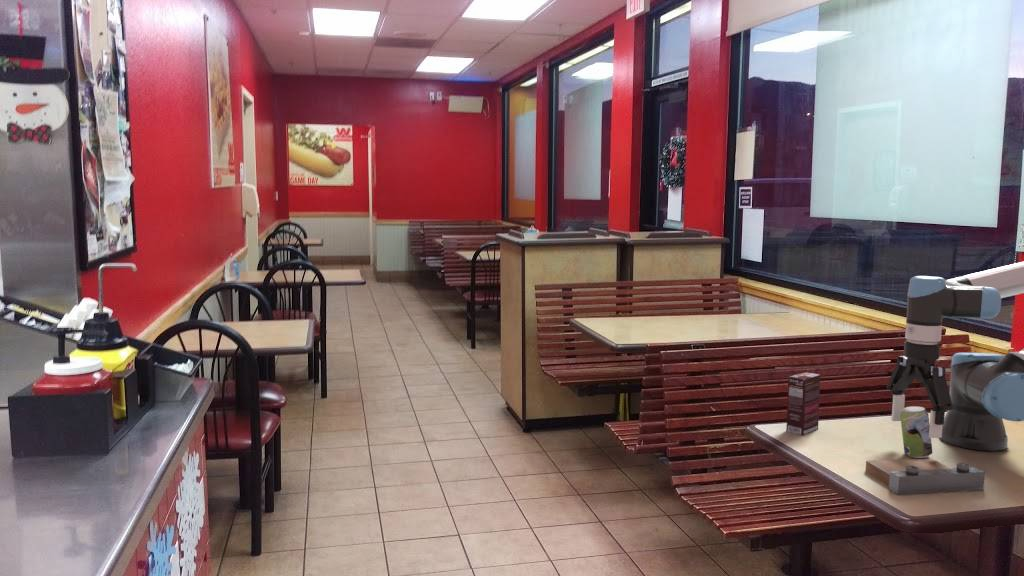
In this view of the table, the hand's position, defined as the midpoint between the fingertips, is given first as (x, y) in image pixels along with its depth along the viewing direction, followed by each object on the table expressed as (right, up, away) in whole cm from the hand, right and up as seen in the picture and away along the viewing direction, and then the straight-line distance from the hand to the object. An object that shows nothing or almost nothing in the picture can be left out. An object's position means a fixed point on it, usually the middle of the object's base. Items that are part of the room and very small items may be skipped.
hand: (915, 428), depth 185 cm
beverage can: (0, -7, +1) cm, 7 cm away
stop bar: (-7, -9, -21) cm, 24 cm away
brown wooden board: (-8, -9, -14) cm, 18 cm away
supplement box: (-21, -5, +18) cm, 28 cm away
